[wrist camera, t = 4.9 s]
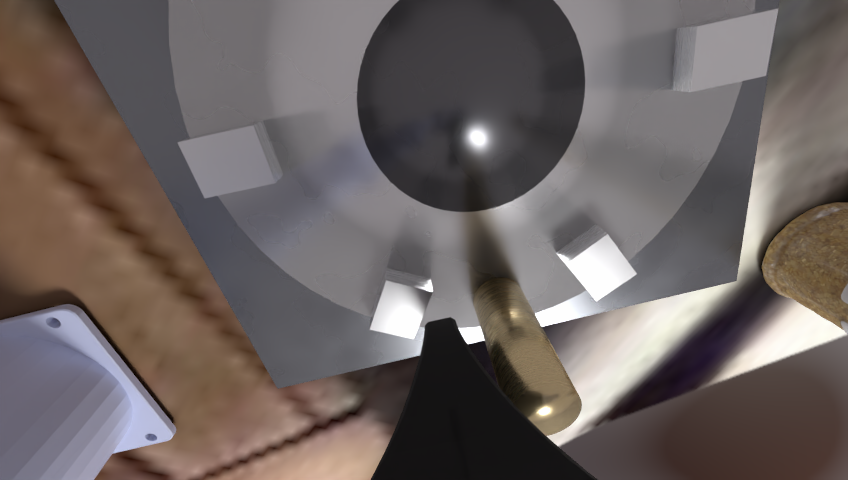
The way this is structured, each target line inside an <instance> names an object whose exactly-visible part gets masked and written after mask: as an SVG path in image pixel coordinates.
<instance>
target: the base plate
mask: <svg viewBox="0 0 848 480" xmlns="http://www.w3.org/2000/svg"><path fill="white" fill-rule="evenodd" d="M55 2H56V4H57V6H58V7H59V9H60V11H61V13H62V14H63V16H64V18H65V20H66V21H67V23H68V25H69V27H70V28H71V30H72V32H73V33H74V35H75V37H76V39H77V40H78V42H79V44H80V46H81V47H82V49H83V51H84V53H85V54H86V56H87V58H88V60H89V61H90V63H91V65H92V67H93V68H94V70H95V72H96V73H97V75H98V77H99V79H100V80H101V82H102V84H103V86H104V87H105V89H106V91H107V93H108V94H109V96H110V98H111V100H112V101H113V103H114V105H115V106H116V108H117V110H118V112H119V113H120V115H121V117H122V119H123V120H124V122H125V124H126V126H127V127H128V129H129V131H130V133H131V134H132V136H133V138H134V139H135V141H136V143H137V145H138V146H139V148H140V150H141V152H142V153H143V155H144V157H145V159H146V160H147V162H148V164H149V166H150V167H151V169H152V171H153V173H154V174H155V176H156V178H157V179H158V181H159V183H160V185H161V186H162V188H163V190H164V192H165V193H166V195H167V197H168V199H169V200H170V202H171V204H172V206H173V207H174V209H175V211H176V212H177V214H178V216H179V218H180V219H181V221H182V223H183V225H184V226H185V228H186V230H187V232H188V233H189V235H190V237H191V239H192V240H193V242H194V244H195V246H196V247H197V249H198V251H199V252H200V254H201V256H202V258H203V259H204V261H205V263H206V265H207V266H208V268H209V270H210V272H211V273H212V275H213V277H214V279H215V280H216V282H217V284H218V285H219V287H220V289H221V291H222V292H223V294H224V296H225V298H226V299H227V301H228V303H229V305H230V306H231V308H232V310H233V312H234V313H235V315H236V317H237V319H238V320H239V322H240V324H241V325H242V327H243V329H244V331H245V332H246V334H247V336H248V338H249V339H250V341H251V343H252V345H253V346H254V348H255V350H256V352H257V353H258V355H259V357H260V358H261V360H262V362H263V364H264V365H265V367H266V369H267V371H268V372H269V374H270V376H271V378H272V379H273V381H274V383H275V385H276V386H277V388H282V387H287V386H291V385H295V384H299V383H304V382H308V381H312V380H316V379H321V378H325V377H329V376H333V375H338V374H342V373H346V372H350V371H355V370H359V369H363V368H367V367H372V366H376V365H380V364H385V363H389V362H393V361H397V360H402V359H406V358H410V357H414V356H419V355H420V354H421V349H422V344H423V339H424V330H425V327H419V328H418V330H417V333H416V335H415V337H414V339H411V338H406V337H401V336H397V335H392V334H387V333H383V332H378V331H373V330H370V318H371V317H370V316H366V315H363V314H360V313H358V312H355V311H353V310H351V309H348V308H346V307H343V306H341V305H338V304H336V303H334V302H332V301H330V300H329V299H327V298H325V297H323V296H321V295H319V294H318V293H316V292H314V291H312V290H310V289H309V288H307V287H306V286H305V285H303V284H302V283H300V282H299V281H297V280H296V279H294V278H293V277H292V276H290V275H289V274H287V273H286V272H285V271H284V270H282V269H281V268H280V267H279V266H278V265H277V264H276V263H274V262H273V261H272V260H271V259H270V258H269V257H268V256H266V255H265V254H264V253H263V252H262V251H261V250H260V249H259V248H258V247H257V246H256V244H255V243H254V242H253V241H252V240H251V239H250V238H249V237H248V236H247V234H246V233H245V232H244V231H243V230H242V229H241V228H240V227H239V225H238V224H237V223H236V221H235V220H234V218H233V217H232V216H231V214H230V213H229V211H228V210H227V209H226V207H225V206H224V204H223V203H222V201H221V200H220V199H219V197H218V196H214V197H209V198H204V196H203V194H202V192H201V190H200V188H199V186H198V184H197V182H196V180H195V178H194V176H193V173H192V171H191V169H190V167H189V165H188V163H187V161H186V159H185V157H184V155H183V153H182V151H181V149H180V147H179V145H178V143H177V142H179V141H182V140H184V139H186V138H189V134H188V132H187V129H186V126H185V123H184V119H183V115H182V111H181V108H180V104H179V100H178V96H177V93H176V89H175V83H174V76H173V68H172V61H171V54H170V47H169V1H168V0H55ZM778 6H779V0H755V10H754V11H760V10H769V9H778ZM775 26H776V25H775ZM774 32H775V30H774ZM773 39H774V35H773ZM772 45H773V41H772ZM771 52H772V46H771ZM771 52H770V57H769V62H768V68H767V73H766V76H763V77H759V78H754V79H749V80H745V81H743V82H742V85H741V88H740V91H739V94H738V97H737V100H736V103H735V106H734V109H733V112H732V115H731V118H730V121H729V123H728V125H727V127H726V130H725V132H724V134H723V136H722V138H721V141H720V143H719V145H718V147H717V149H716V152H715V154H714V155H713V157H712V159H711V161H710V162H709V164H708V166H707V168H706V169H705V171H704V173H703V174H702V176H701V178H700V180H699V181H698V183H697V185H696V186H695V187H694V189H693V190H692V192H691V193H690V194H689V196H688V197H687V199H686V200H685V201H684V203H683V204H682V205H681V207H680V208H679V210H678V211H677V212H676V214H675V215H674V216H673V217H672V218H671V219H670V220H669V221H668V223H667V224H666V225H665V226H664V227H663V228H662V229H661V230H660V232H659V233H658V234H657V235H656V236H655V237H654V238H653V239H652V240H651V241H650V242H649V243H648V244H647V245H646V246H645V247H644V248H642V249H641V250H640V251H639V252H638V253H637V254H636V255H635V256H634V257H633V258H632V259H631V260H629V261H628V262H629V264H630V265H631V266H632V268H633V269H634V271H635V272H636V273H637V274H636V275H635V276H634V277H632V278H631V279H629V280H628V281H626V282H625V283H623V284H622V285H620V286H619V287H617V288H616V289H614V290H613V291H611V292H610V293H608V294H607V295H605V296H604V297H602V298H601V299H599V300H598V301H596V300H595V299H594V298H593V297H592V296H591V294H590V293H589V292H588V291H587V290H586V291H584V292H583V293H581V294H579V295H577V296H575V297H573V298H571V299H569V300H567V301H565V302H563V303H561V304H559V305H557V306H554V307H552V308H549V309H546V310H544V311H541V312H538V313H535V315H536V317H537V319H538V321H539V323H540V324H541V326H546V325H551V324H555V323H559V322H563V321H568V320H572V319H576V318H581V317H585V316H589V315H593V314H598V313H602V312H606V311H610V310H615V309H619V308H623V307H627V306H632V305H636V304H640V303H644V302H649V301H653V300H657V299H661V298H666V297H670V296H674V295H679V294H683V293H687V292H691V291H696V290H700V289H704V288H708V287H713V286H717V285H721V284H725V283H730V282H734V281H736V280H737V274H738V267H739V261H740V254H741V248H742V241H743V235H744V228H745V221H746V215H747V208H748V202H749V195H750V189H751V182H752V176H753V169H754V163H755V156H756V150H757V143H758V137H759V130H760V124H761V117H762V111H763V104H764V98H765V91H766V85H767V78H768V72H769V65H770V58H771ZM459 330H460V332H461V334H462V336H463V338H464V340H465V341H466V343H467V344H470V343H474V342H478V341H483V340H484V337H483V334H482V331H481V327H471V328H459Z"/></svg>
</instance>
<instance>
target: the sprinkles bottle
mask: <svg viewBox="0 0 848 480" xmlns="http://www.w3.org/2000/svg"><path fill="white" fill-rule="evenodd" d="M762 271H763V277H764V279H765V281H766V282H767V284H769V285H770V287H771V288H772V289H773V290H774V291H775V292H777V293H778V294H780V295H783V296H785V297H789V298H792V299H794V300H796V301H797V302H799V303H800V304H802V305H803V306H805V307H807V308H809V309H811V310H812V311H814V312H815V313H817V314H818V315H820V316H821V317H823V318H825V319H827V320H829V321H831V322H832V323H834V324H835V325H837V326H838V327H840V328H841V329H843V330H844V331H845V332H846V333H847V334H848V203H840V202H836V203H831V204H825V205H821V206H817V207H815V208H812V209H810V210H808V211H807V212H805V213H803V214H801V215H800V216H798V217H797V218H795V219H794V220H792V221H791V222H790V223H789V224H788V225H786V226H785V228H784V229H783V230H782V231H781V232H779V233H778V234H777V235H776V237H775V238H774V239H773V241H772V242H771V243H770V245H769V247H768V249H767V251H766V254H765V257H764V260H763V264H762Z"/></svg>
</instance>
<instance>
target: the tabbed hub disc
mask: <svg viewBox="0 0 848 480" xmlns="http://www.w3.org/2000/svg"><path fill="white" fill-rule="evenodd" d="M168 1H169V47H170V54H171V61H172V68H173V76H174V83H175V89H176V93H177V96H178V100H179V104H180V108H181V111H182V115H183V119H184V123H185V126H186V129H187V132H188V134H189V138H186V139H184V140H182V141H179V142H177V143H178V145H179V147H180V149H181V151H182V153H183V155H184V157H185V159H186V161H187V163H188V165H189V167H190V169H191V171H192V173H193V176H194V178H195V180H196V182H197V184H198V186H199V188H200V190H201V192H202V194H203V196H204V198H209V197H214V196H218V197H219V199H220V200H221V201H222V203H223V204H224V206H225V207H226V209H227V210H228V211H229V213H230V214H231V216H232V217H233V218H234V220H235V221H236V223H237V224H238V225H239V227H240V228H241V229H242V230H243V231H244V232H245V233H246V234H247V236H248V237H249V238H250V239H251V240H252V241H253V242H254V243H255V244H256V246H257V247H258V248H259V249H260V250H261V251H262V252H263V253H264V254H265V255H266V256H268V257H269V258H270V259H271V260H272V261H273V262H274V263H276V264H277V265H278V266H279V267H280V268H281V269H282V270H284V271H285V272H286V273H287V274H289V275H290V276H292V277H293V278H294V279H296V280H297V281H299V282H300V283H302V284H303V285H305V286H306V287H307V288H309V289H310V290H312V291H314V292H316V293H318V294H319V295H321V296H323V297H325V298H327V299H329V300H330V301H332V302H334V303H336V304H338V305H341V306H343V307H346V308H348V309H351V310H353V311H355V312H358V313H360V314H363V315H366V316H370V317H371V318H370V330H373V331H378V332H383V333H387V334H392V335H397V336H401V337H406V338H411V339H414V337H415V335H416V333H417V330H418V328H419V327H425V325H426V324H427V322H430V321H435V320H439V319H444V318H449V317H451V318H453V319H455V321H456V324H457V326H458V328H471V327H481V331H482V334H483V337H484V340H485V343H486V347H487V350H488V353H489V356H490V359H491V362H492V366H493V369H494V372H495V375H496V378H497V382H498V385H499V388H500V389H501V390H502V391H503V392H504V394H505V395H506V396H507V397H508V398H509V399H510V400H511V401H512V402H513V404H514V405H515V406H516V407H517V408H518V409H519V410H520V411H521V412H522V413H523V414H524V415H525V416H526V417H527V418H528V419H529V420H530V421H531V422H532V423H533V424H534V425H535V426H536V427H537V428H538V429H539V430H540V431H541V432H542V433H543V434H544V435H545V436H548V435H552V434H555V433H557V432H560V431H562V430H564V429H565V428H567V427H568V426H570V425H571V424H572V423H573V422H574V421H575V420H576V419H577V417H578V416H579V414H580V411H581V406H582V404H581V399H580V397H579V395H578V393H577V391H576V390H575V388H574V386H573V384H572V382H571V380H570V378H569V377H568V375H567V373H566V371H565V369H564V367H563V365H562V364H561V362H560V360H559V358H558V356H557V354H556V352H555V350H554V349H553V347H552V345H551V343H550V341H549V339H548V337H547V336H546V334H545V332H544V330H543V328H542V326H541V324H540V323H539V321H538V319H537V317H536V315H535V313H538V312H541V311H544V310H546V309H549V308H552V307H554V306H557V305H559V304H561V303H563V302H565V301H567V300H569V299H571V298H573V297H575V296H577V295H579V294H581V293H583V292H584V291H586V290H587V291H588V292H589V293H590V294H591V296H592V297H593V298H594V299H595V300H596V301H598V300H599V299H601V298H602V297H604V296H605V295H607V294H608V293H610V292H611V291H613V290H614V289H616V288H617V287H619V286H620V285H622V284H623V283H625V282H626V281H628V280H629V279H631V278H632V277H634V276H635V275H636V274H637V273H636V272H635V271H634V269H633V268H632V266H631V265H630V264H629V262H628V261H629V260H631V259H632V258H633V257H634V256H635V255H636V254H637V253H638V252H639V251H640V250H641V249H642V248H644V247H645V246H646V245H647V244H648V243H649V242H650V241H651V240H652V239H653V238H654V237H655V236H656V235H657V234H658V233H659V232H660V230H661V229H662V228H663V227H664V226H665V225H666V224H667V223H668V221H669V220H670V219H671V218H672V217H673V216H674V215H675V214H676V212H677V211H678V210H679V208H680V207H681V205H682V204H683V203H684V201H685V200H686V199H687V197H688V196H689V194H690V193H691V192H692V190H693V189H694V187H695V186H696V185H697V183H698V181H699V180H700V178H701V176H702V174H703V173H704V171H705V169H706V168H707V166H708V164H709V162H710V161H711V159H712V157H713V155H714V154H715V152H716V149H717V147H718V145H719V143H720V141H721V138H722V136H723V134H724V132H725V130H726V127H727V125H728V123H729V121H730V118H731V115H732V112H733V109H734V106H735V103H736V100H737V97H738V94H739V91H740V88H741V85H742V82H743V81H745V80H749V79H754V78H759V77H763V76H766V73H767V68H768V62H769V57H770V52H771V46H772V41H773V35H774V30H775V25H776V19H777V14H778V9H769V10H760V11H754V10H755V0H168Z"/></svg>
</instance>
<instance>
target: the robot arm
mask: <svg viewBox="0 0 848 480" xmlns="http://www.w3.org/2000/svg"><path fill="white" fill-rule="evenodd" d="M57 319H58V320H59V321H58V320H57ZM175 432H176V428H175V426H174V424H173V423H172V422H171V421H170V419H169V418H168V417H167V416H166V414H165V413H164V412H163V411H162V409H161V408H160V407H159V406H158V404H157V403H156V402H155V400H154V399H153V398H152V397H151V395H150V394H149V393H148V392H147V390H146V389H145V388H144V387H143V385H142V384H141V383H140V382H139V380H138V379H137V378H136V377H135V375H134V374H133V373H132V372H131V370H130V369H129V368H128V366H127V365H126V364H125V363H124V361H123V360H122V359H121V358H120V356H119V355H118V354H117V353H116V351H115V350H114V349H113V348H112V346H111V345H110V344H109V343H108V341H107V340H106V339H105V338H104V336H103V335H102V334H101V332H100V331H99V330H98V329H97V327H96V326H95V325H94V324H93V322H92V321H91V320H90V319H89V317H88V316H87V315H86V314H85V312H84V311H83V310H82V309H81V308H79V307H77V306H75V305H71V304H64V305H60V306H56V307H52V308H48V309H44V310H40V311H36V312H32V313H28V314H24V315H20V316H16V317H12V318H8V319H4V320H0V480H94V479H95V477H96V476H97V474H98V473H99V472H100V470H101V469H102V467H103V466H104V464H105V463H106V462H107V460H108V459H109V457H110V456H111V454H112V453H117V452H121V451H125V450H130V449H134V448H138V447H143V446H147V445H151V444H156V443H160V442H164V441H168V440H170V439H171V438H172V437H173V436H174V434H175ZM371 480H597V479H596V478H595V477H593V476H592V475H591V474H590V473H588V472H587V471H586V470H585V469H583V468H582V467H581V466H580V465H579V464H578V463H576V462H575V461H574V460H573V459H572V458H571V457H569V456H568V455H567V454H566V453H565V452H563V451H562V450H561V449H560V448H559V447H558V446H557V445H555V444H554V443H553V442H552V441H551V440H550V439H549V438H548V437H546V436H545V435H544V434H543V433H542V432H541V431H540V430H539V429H538V428H537V427H536V426H535V425H534V424H533V423H532V422H531V421H530V420H529V419H528V418H527V417H526V416H525V415H524V414H523V413H522V412H521V411H520V410H519V409H518V408H517V407H516V406H515V405H514V404H513V402H512V401H511V400H510V399H509V398H508V397H507V396H506V395H505V394H504V392H503V391H502V390H501V389H500V388H499V386H498V385H497V384H496V383H495V382H494V380H493V379H492V378H491V377H490V375H489V374H488V373H487V372H486V370H485V369H484V368H483V366H482V365H481V363H480V362H479V361H478V359H477V358H476V357H475V355H474V354H473V352H472V351H471V349H470V348H469V346H468V344H467V343H466V341H465V340H464V338H463V336H462V334H461V332H460V330H459V328H458V326H457V324H456V321H455V319H453V318H451V317H449V318H444V319H439V320H435V321H430V322H427V324H426V325H425V330H424V339H423V344H422V349H421V354H420V358H419V362H418V366H417V369H416V373H415V376H414V380H413V383H412V386H411V389H410V392H409V395H408V397H407V400H406V403H405V406H404V409H403V412H402V414H401V417H400V419H399V422H398V424H397V426H396V429H395V431H394V433H393V436H392V438H391V440H390V442H389V444H388V447H387V449H386V451H385V453H384V455H383V457H382V459H381V461H380V463H379V465H378V467H377V469H376V471H375V473H374V474H373V476H372V478H371Z"/></svg>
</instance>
